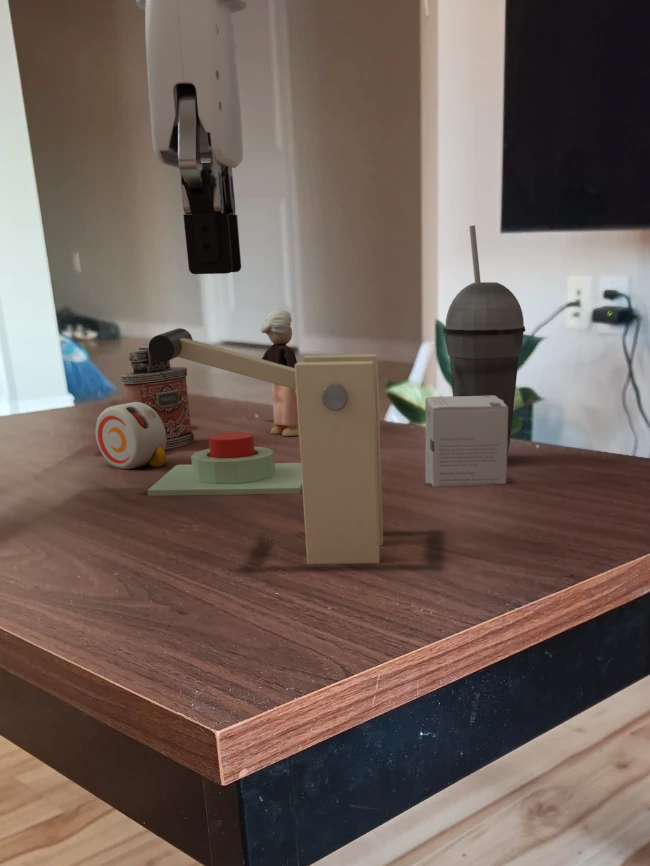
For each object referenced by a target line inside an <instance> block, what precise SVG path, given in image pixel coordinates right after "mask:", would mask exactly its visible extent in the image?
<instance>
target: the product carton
mask: <svg viewBox="0 0 650 866" xmlns="http://www.w3.org/2000/svg"><path fill="white" fill-rule="evenodd" d="M424 402H425V409H424V410H425V411H424V412H425V440H424V441H425V484H431V486H432V487H458V486H459V487H461V486H481V485H482V486H483V485H505V484H507V477H508V476H507V474H508V473H507V471H508V470H507V469H508V468H507V467H508V454H507V438H508V406H507V405H506V404H505V403H504V401H503V400H501V399H499V398H498V397H497V396H494V395H492V396H453V395H451V396H427V397H425V399H424Z"/></svg>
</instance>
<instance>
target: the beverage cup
mask: <svg viewBox="0 0 650 866" xmlns="http://www.w3.org/2000/svg"><path fill="white" fill-rule="evenodd" d="M476 231H477V229H476V224H475V225H469V236H470V237H469V238H470V247H471V256H472V257H471V258H472V266H473V276H474V282H472V283H470V284H468V285H466V286H465V287H463V288H462V289H461V290H460V291H459V292H458V293H457V294H456V296H455V297H454V298H453V300H452V301H451V302H450V304H449V307H448V311H447V313H446V318H445V325H444V326H445V327H444V328H443V333H444V334H445V345H446V349H447V356H449V365H450V375H451V376H450V378H451V388H452V389H451V390H452V396H492V395H494V396H497V397H498V398H499V399H501V400H503V401H504V403H505V404H506V405H507V406H508V438H507V455H508V454H509V448H510V445H511V436H512V425H513V416H514V408H515V407H514V406H515V397H516V387H517V377H518V368H519V358H520V355H521V353H522V347H523V343H524V333H525V332H526V327H525V323H524V313H523V310H522V307H521V304H520V302H519V300H518V299H517V297H516V296H515V294H514V293H513V292H512V291H511V290H510V288H508V287H506V286H505V285H504V284H501V283H500V282H496V281H495V282H494V281H493V282H492V281H488V282H486V281H485V282H481V273H480V262H479V251H478V242H477V241H478V239H477V232H476Z"/></svg>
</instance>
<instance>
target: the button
mask: <svg viewBox="0 0 650 866" xmlns="http://www.w3.org/2000/svg"><path fill="white" fill-rule="evenodd" d="M208 445H209V449H210V457H213V458H241V457H249V456H253V455H255V450H254V447H255V438H254V435H253V433H250V432H246V431H230V432H229V431H228V432H220V433H214V434H211V435H209V436H208Z"/></svg>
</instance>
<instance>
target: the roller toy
mask: <svg viewBox="0 0 650 866" xmlns="http://www.w3.org/2000/svg"><path fill="white" fill-rule="evenodd" d="M95 440H96V443H97V448H98V449H99V451H100V453H101V455H102V456H103V459H104V460H105V462H106V463H107V464H108V465H109V466H110V467H115V468H116V469H119V470H125V471H126V470H128V471H129V470H133V469H138V468H141V467H144V466H150V467H152V468H161V467H162V466H164V464H165V463H166V458H167V456H166V452H165V451H166V449H165V447H166V432H165V428H164V425H163V422H162V420H161V418H160V417H159V415H158V414H157V413H156V412H155V410H153V409H152V408H151V407H150V406H148V405H146V404H144V403H140V402H133V403H127V404H126V403H122V404H117V405H111V406H109V407H107V408H105V409H104V410H102V412H101V413H100V414H99V416H98V417H97V420H96V424H95Z"/></svg>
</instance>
